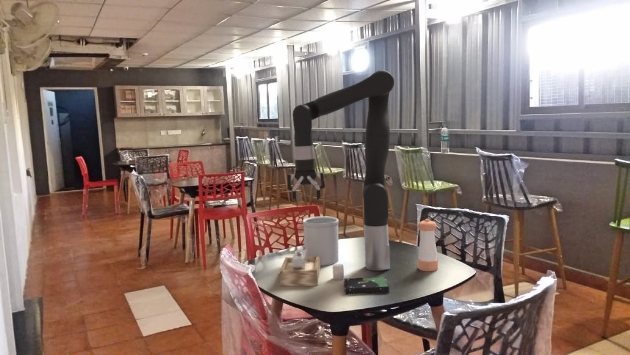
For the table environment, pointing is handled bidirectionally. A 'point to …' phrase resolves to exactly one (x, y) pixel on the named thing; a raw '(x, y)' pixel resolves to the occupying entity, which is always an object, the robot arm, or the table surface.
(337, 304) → the table surface
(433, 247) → the pepper shaker
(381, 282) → the disk drive
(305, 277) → the wooden tray
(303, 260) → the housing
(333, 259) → the utensil holder
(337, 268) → the spool
